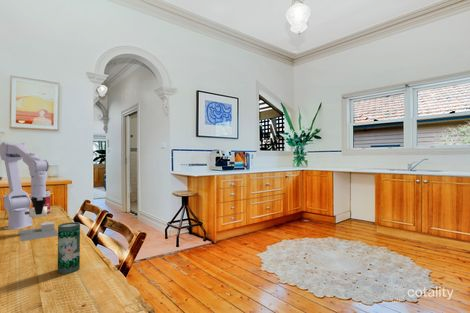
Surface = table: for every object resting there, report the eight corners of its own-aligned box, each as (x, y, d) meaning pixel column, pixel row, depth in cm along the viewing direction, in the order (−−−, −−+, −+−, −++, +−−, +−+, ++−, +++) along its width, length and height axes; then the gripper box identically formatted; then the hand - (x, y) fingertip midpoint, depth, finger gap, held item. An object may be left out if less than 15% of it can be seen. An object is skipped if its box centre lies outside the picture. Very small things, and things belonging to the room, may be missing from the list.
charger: (40, 229, 134) (40, 223, 134) (52, 227, 137) (52, 221, 137) (41, 231, 130) (41, 225, 130) (54, 229, 134) (54, 223, 134)
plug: (25, 218, 124) (25, 209, 124) (24, 216, 127) (24, 208, 127) (52, 215, 131) (52, 207, 131) (50, 213, 134) (51, 205, 134)
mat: (18, 231, 130) (18, 231, 130) (53, 227, 140) (53, 226, 140) (20, 242, 115) (20, 241, 115) (59, 236, 125) (59, 235, 125)
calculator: (38, 216, 162) (38, 191, 162) (31, 216, 162) (31, 191, 162) (51, 212, 173) (51, 189, 173) (44, 212, 173) (44, 189, 173)
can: (56, 275, 85) (57, 227, 85) (59, 268, 90) (59, 223, 90) (79, 271, 87) (79, 225, 87) (80, 264, 93) (80, 221, 93)
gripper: (50, 186, 126) (50, 214, 126) (46, 183, 137) (46, 209, 137) (31, 187, 122) (31, 217, 122) (29, 184, 132) (29, 211, 133)
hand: (38, 213), depth 129 cm, fingers closed on plug, 4 cm apart
